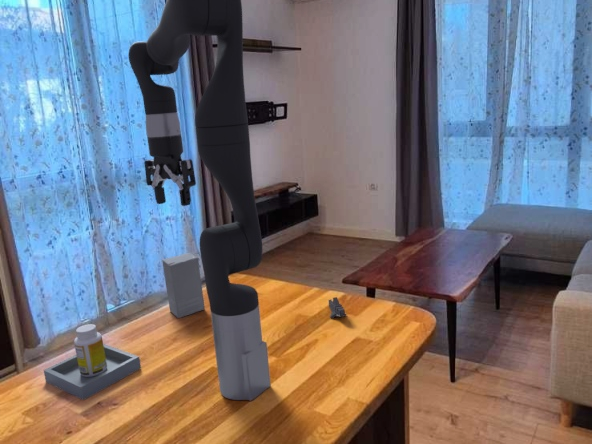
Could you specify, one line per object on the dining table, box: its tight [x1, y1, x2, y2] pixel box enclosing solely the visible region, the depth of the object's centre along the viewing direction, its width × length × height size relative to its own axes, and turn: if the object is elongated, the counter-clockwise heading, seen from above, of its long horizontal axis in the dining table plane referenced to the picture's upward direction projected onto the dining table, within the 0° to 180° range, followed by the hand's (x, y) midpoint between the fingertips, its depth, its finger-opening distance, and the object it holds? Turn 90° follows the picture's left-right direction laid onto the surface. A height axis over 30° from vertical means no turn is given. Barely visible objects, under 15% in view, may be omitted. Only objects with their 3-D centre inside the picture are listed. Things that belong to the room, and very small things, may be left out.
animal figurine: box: [328, 296, 347, 319], centre depth 132 cm, size 12×4×5 cm, turn 12°
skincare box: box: [161, 252, 206, 319], centre depth 140 cm, size 8×7×16 cm
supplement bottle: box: [73, 323, 107, 377], centre depth 110 cm, size 6×6×10 cm
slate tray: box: [43, 343, 142, 401], centre depth 111 cm, size 14×14×3 cm
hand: (173, 204), depth 119 cm, fingers open, 8 cm apart
